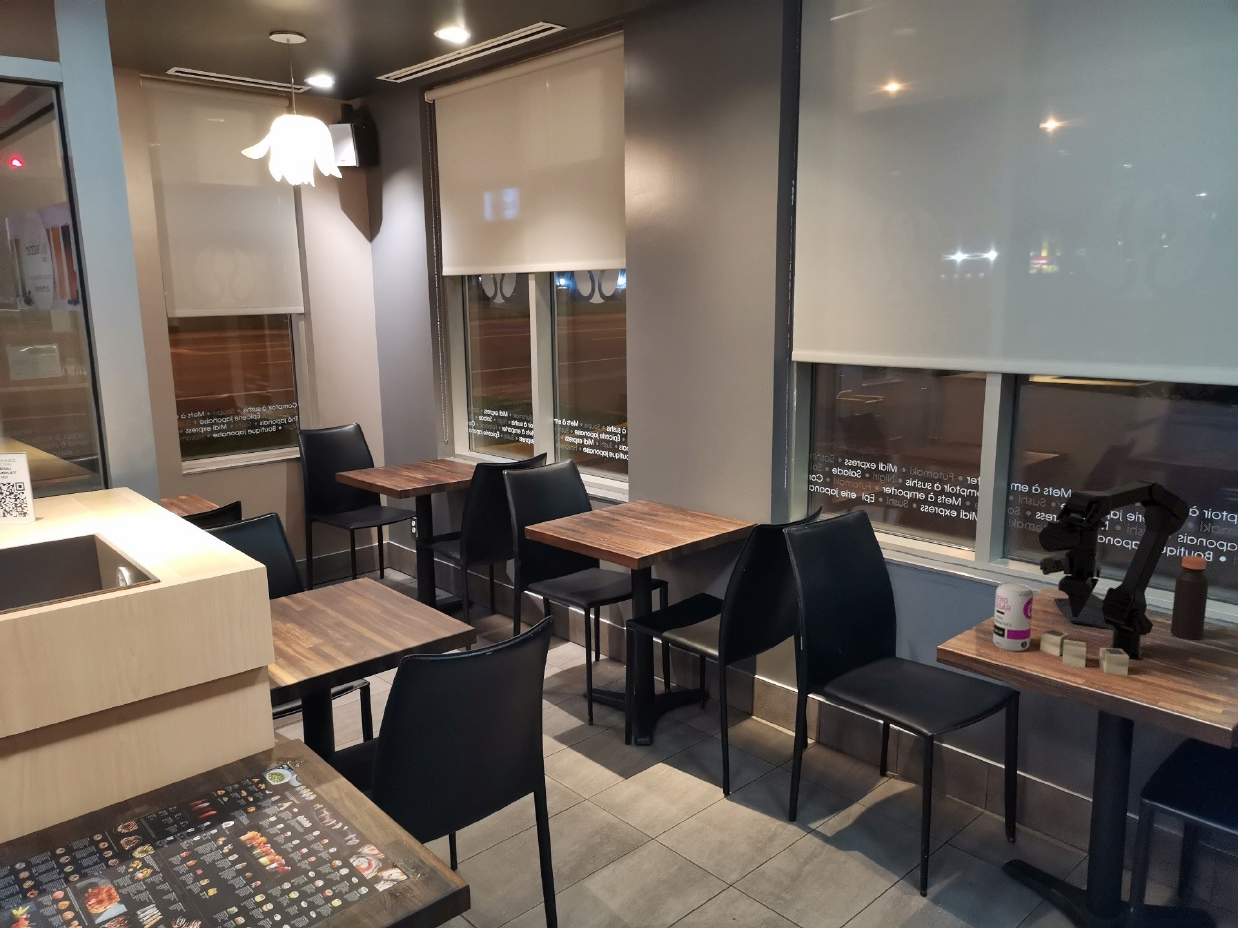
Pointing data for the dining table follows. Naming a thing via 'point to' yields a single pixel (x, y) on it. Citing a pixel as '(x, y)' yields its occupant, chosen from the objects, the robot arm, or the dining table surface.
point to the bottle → (1190, 599)
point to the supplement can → (1013, 616)
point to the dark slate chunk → (1085, 612)
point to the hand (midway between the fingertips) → (1077, 613)
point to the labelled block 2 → (1113, 661)
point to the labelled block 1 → (1053, 641)
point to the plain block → (1074, 653)
